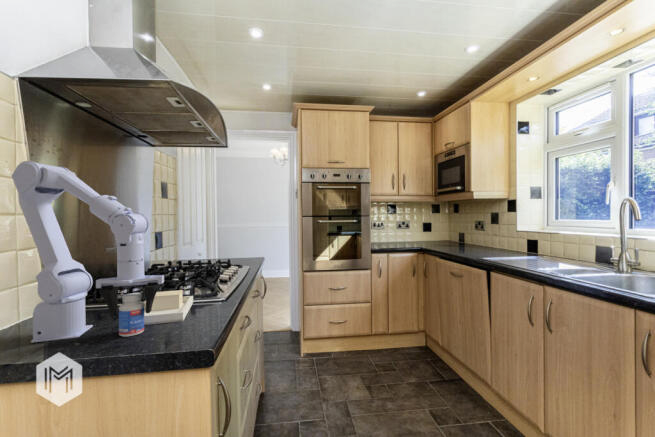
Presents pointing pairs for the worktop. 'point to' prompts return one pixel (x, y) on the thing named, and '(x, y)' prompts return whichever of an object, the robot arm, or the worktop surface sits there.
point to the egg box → (167, 300)
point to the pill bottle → (131, 315)
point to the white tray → (168, 313)
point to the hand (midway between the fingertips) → (131, 313)
